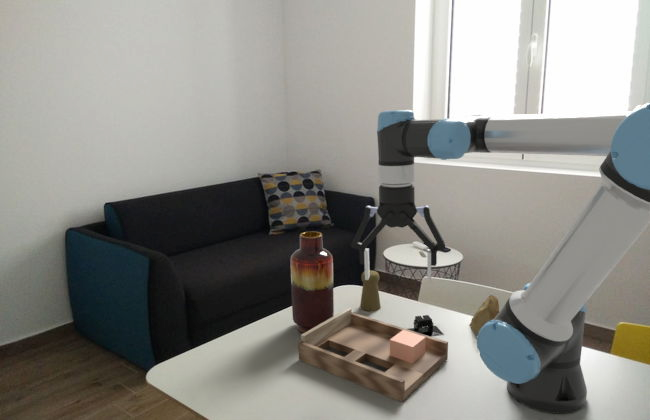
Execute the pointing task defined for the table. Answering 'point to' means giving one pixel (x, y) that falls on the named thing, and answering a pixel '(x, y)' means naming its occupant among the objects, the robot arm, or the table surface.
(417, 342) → the block
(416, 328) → the black piece
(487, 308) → the rock
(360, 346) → the box
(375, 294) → the cork
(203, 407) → the table surface
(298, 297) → the vase
